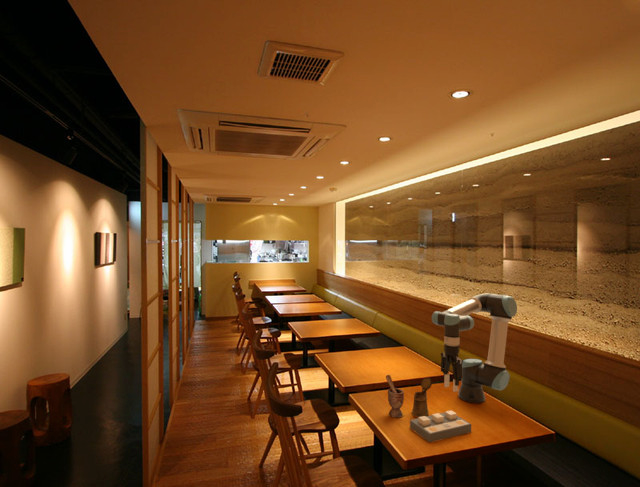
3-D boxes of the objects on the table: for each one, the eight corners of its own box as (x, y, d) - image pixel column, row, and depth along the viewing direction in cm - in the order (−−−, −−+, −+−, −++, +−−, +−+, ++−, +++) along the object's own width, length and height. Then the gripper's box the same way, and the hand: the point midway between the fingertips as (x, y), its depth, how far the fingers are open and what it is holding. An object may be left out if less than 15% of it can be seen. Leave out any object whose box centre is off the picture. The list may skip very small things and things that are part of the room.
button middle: (438, 420, 194) (438, 413, 194) (443, 424, 190) (443, 416, 190) (431, 422, 192) (432, 414, 192) (437, 425, 189) (437, 417, 188)
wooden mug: (435, 411, 210) (436, 379, 210) (423, 419, 200) (423, 385, 200) (421, 406, 216) (422, 375, 216) (408, 413, 207) (409, 381, 207)
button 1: (424, 423, 190) (424, 415, 190) (430, 427, 187) (430, 419, 187) (418, 425, 189) (418, 417, 189) (423, 428, 185) (423, 420, 185)
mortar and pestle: (379, 413, 207) (380, 377, 207) (387, 408, 214) (387, 373, 213) (399, 419, 200) (399, 382, 200) (406, 414, 206) (406, 377, 206)
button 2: (450, 417, 197) (451, 410, 197) (456, 421, 193) (456, 413, 193) (444, 419, 196) (445, 411, 196) (450, 422, 192) (450, 414, 192)
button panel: (449, 418, 201) (449, 411, 201) (471, 432, 188) (471, 423, 188) (409, 427, 191) (410, 419, 191) (429, 442, 177) (429, 433, 177)
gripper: (433, 340, 201) (433, 383, 202) (459, 349, 184) (458, 397, 184) (444, 339, 204) (444, 381, 204) (471, 348, 187) (470, 394, 187)
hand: (451, 388), depth 194 cm, fingers open, 6 cm apart
